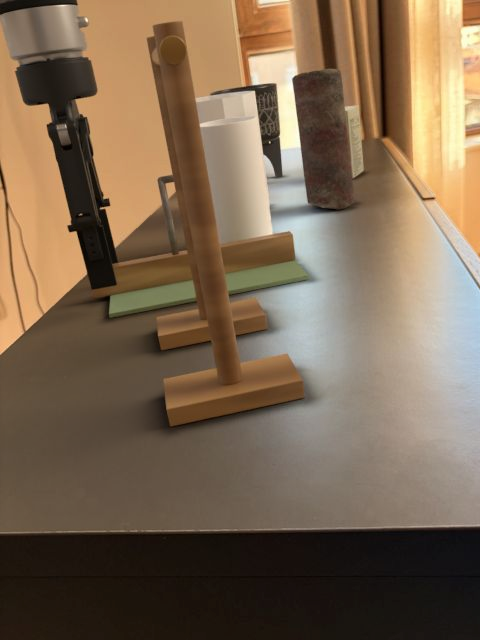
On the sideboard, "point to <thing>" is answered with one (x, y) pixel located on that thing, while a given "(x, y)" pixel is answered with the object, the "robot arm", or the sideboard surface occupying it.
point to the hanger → (177, 263)
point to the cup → (237, 178)
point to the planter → (266, 120)
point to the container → (228, 109)
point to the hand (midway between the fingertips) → (105, 274)
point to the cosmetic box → (354, 139)
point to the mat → (186, 291)
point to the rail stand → (206, 266)
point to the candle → (324, 138)
